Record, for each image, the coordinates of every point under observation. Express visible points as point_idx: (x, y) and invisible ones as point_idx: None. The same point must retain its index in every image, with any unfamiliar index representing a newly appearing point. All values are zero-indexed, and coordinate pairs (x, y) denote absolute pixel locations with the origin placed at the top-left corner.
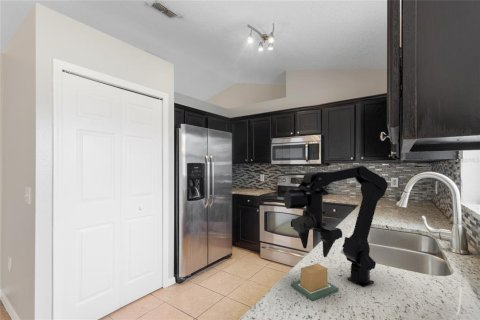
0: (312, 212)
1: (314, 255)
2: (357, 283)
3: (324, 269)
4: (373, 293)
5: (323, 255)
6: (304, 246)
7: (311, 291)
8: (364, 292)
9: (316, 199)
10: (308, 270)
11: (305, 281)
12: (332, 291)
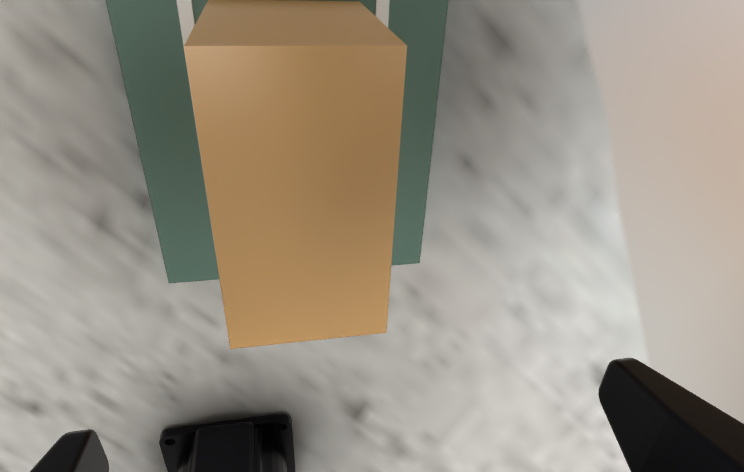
0: None
1: None
2: (197, 429)
3: (225, 304)
4: None
5: (70, 454)
6: (634, 393)
7: None
8: (105, 400)
9: None
10: (279, 92)
11: (290, 14)
12: (154, 211)
